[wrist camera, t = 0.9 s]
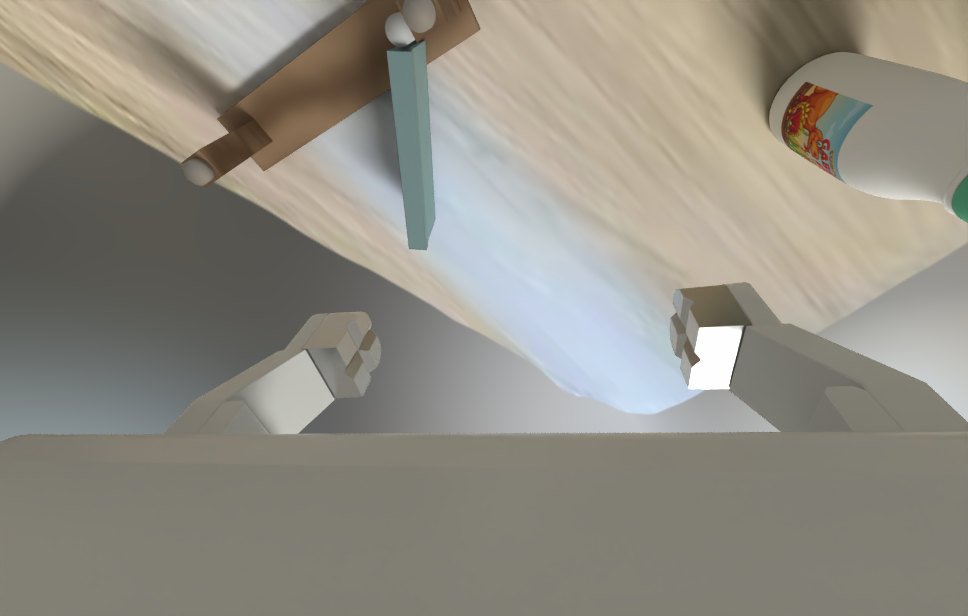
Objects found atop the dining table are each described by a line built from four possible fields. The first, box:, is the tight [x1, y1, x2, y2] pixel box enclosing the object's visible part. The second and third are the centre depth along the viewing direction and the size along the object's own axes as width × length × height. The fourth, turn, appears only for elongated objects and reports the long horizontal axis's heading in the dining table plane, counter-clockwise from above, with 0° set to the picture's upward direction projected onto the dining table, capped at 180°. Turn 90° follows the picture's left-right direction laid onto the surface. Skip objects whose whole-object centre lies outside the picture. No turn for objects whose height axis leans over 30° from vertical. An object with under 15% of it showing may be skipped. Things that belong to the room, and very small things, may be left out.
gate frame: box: [182, 0, 480, 187], centre depth 33 cm, size 6×27×11 cm, turn 118°
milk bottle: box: [769, 52, 968, 223], centre depth 28 cm, size 8×8×20 cm
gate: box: [385, 12, 435, 250], centre depth 36 cm, size 19×2×7 cm, turn 178°
